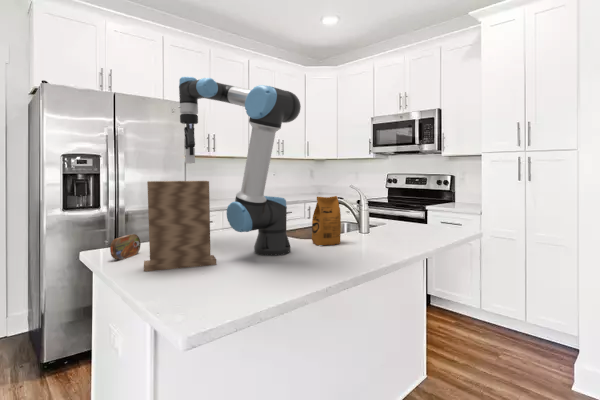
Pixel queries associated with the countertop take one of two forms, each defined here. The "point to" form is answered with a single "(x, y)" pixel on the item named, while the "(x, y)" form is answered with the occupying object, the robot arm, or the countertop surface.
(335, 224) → the coffee package
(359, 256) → the countertop surface
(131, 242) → the tin
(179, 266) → the stand
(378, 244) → the countertop surface
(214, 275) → the countertop surface
